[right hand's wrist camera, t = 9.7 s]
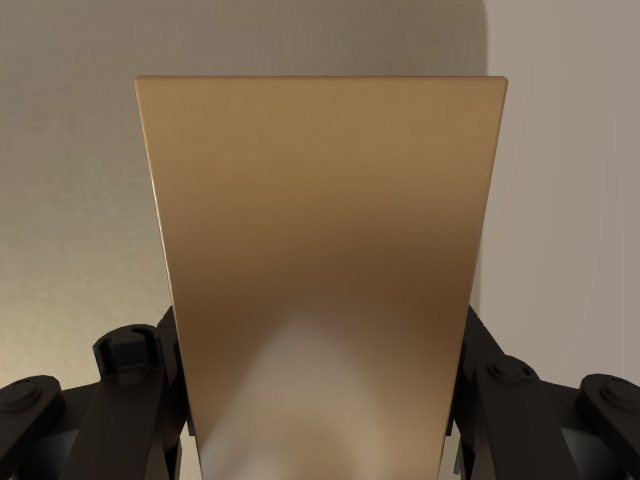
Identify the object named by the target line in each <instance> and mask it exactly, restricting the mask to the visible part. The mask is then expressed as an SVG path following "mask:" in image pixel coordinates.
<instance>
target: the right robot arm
mask: <svg viewBox="0 0 640 480" xmlns="http://www.w3.org/2000/svg"><path fill="white" fill-rule="evenodd" d="M93 351H94V355H95V358H96V362H97V365H98V369H99V372H100V376H101V379H100V382H97V383H93V384H90V385H85V386H81V387H76V388H72V389H67V390H63V391H62V389H61V386H60V383H59V381H58V380H57V379H56V378H54V377H53V376H46V375H40V376H32V377H28V378H24V379H22V380H18V381H15V382H13V383H11V384H10V385H8V386H6V387H4V388H2V389H0V480H179V476H180V466H181V457H182V447H181V441H180V434H181V432H182V429H183V427H184V425H185V422H186V420H187V425H188V431H189V436H195V434H194V428H193V422H192V417H191V411H190V405H189V399H188V393H187V387H186V382H185V376H184V370H183V364H182V358H181V352H180V347H179V341H178V335H177V329H176V323H175V317H174V312H173V306H170V308H169V309H168V311H167V312H166V313H165V315H164V316H163V319H161V321H160V322H159V323H158V325H157V328H155V327H154V326H151V325H147V324H133V325H128V326H124V327H120V328H118V329H115V330H113V331H111V332H108V333H107V334H105V335H104V336H102V337H101V338H100V339H98V340H97V342H96V343H95V344H94V345H93ZM454 420H455V422H456V425H457V427H458V429H459V432H460V434H461V436H460V441H459V446H458V451H457V456H456V462H455V467H454V474H457V475H459V470H460V475H461V480H640V387H639V386H637V385H634V384H632V383H631V382H629V381H627V380H624V379H622V378H618V377H615V376H612V375H605V374H591V375H587V376H586V377H585V378H583V379H582V381H581V384H580V387H579V389H576V388H571V387H567V386H562V385H558V384H553V383H549V382H545V381H542V380H540V379H539V377H538V375H537V374H536V372H535V371H534V370H533V369H532V368H531V367H530V366H528V365H527V364H526V363H525V362H523V361H521V360H519V359H517V358H515V357H512V356H509V355H505V354H504V352H503V351H502V350H501V348H500V347H499V345H498V344H497V343H496V341H495V340H494V338H493V337H492V336H491V334H490V333H489V331H488V330H487V328H486V327H485V326H483V323H482V321H481V320H480V319H479V318H477V314H476V313H475V312H474V310H473V309H472V307H471V306H470V305H469V307H468V312H467V318H466V324H465V329H464V335H463V341H462V346H461V352H460V358H459V363H458V369H457V375H456V380H455V386H454V392H453V397H452V403H451V409H450V414H449V420H448V426H447V431H446V436H451V432H452V427H453V421H454Z"/></svg>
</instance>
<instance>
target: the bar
mask: <svg viewBox="0 0 640 480" xmlns="http://www.w3.org/2000/svg"><path fill="white" fill-rule="evenodd" d="M134 84H135V90H136V96H137V101H138V107H139V113H140V119H141V125H142V131H143V136H144V142H145V148H146V154H147V160H148V166H149V171H150V177H151V183H152V189H153V195H154V201H155V207H156V212H157V218H158V224H159V230H160V236H161V242H162V247H163V253H164V259H165V265H166V271H167V277H168V282H169V288H170V294H171V300H172V306H173V312H174V317H175V323H176V329H177V335H178V341H179V347H180V352H181V358H182V364H183V370H184V376H185V382H186V387H187V393H188V399H189V405H190V411H191V417H192V422H193V428H194V434H195V440H196V446H197V452H198V457H199V463H200V469H201V475H202V480H438V477H439V471H440V465H441V460H442V454H443V448H444V443H445V437H446V431H447V426H448V420H449V414H450V409H451V403H452V397H453V392H454V386H455V380H456V375H457V369H458V363H459V358H460V352H461V346H462V341H463V335H464V329H465V324H466V318H467V312H468V307H469V301H470V295H471V290H472V284H473V278H474V273H475V267H476V261H477V256H478V250H479V244H480V239H481V233H482V227H483V222H484V216H485V210H486V205H487V199H488V193H489V188H490V182H491V176H492V170H493V165H494V159H495V153H496V148H497V142H498V136H499V131H500V125H501V119H502V114H503V108H504V102H505V97H506V91H507V86H508V79H507V78H505V77H503V76H138V77H136V78H135V80H134Z"/></svg>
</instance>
